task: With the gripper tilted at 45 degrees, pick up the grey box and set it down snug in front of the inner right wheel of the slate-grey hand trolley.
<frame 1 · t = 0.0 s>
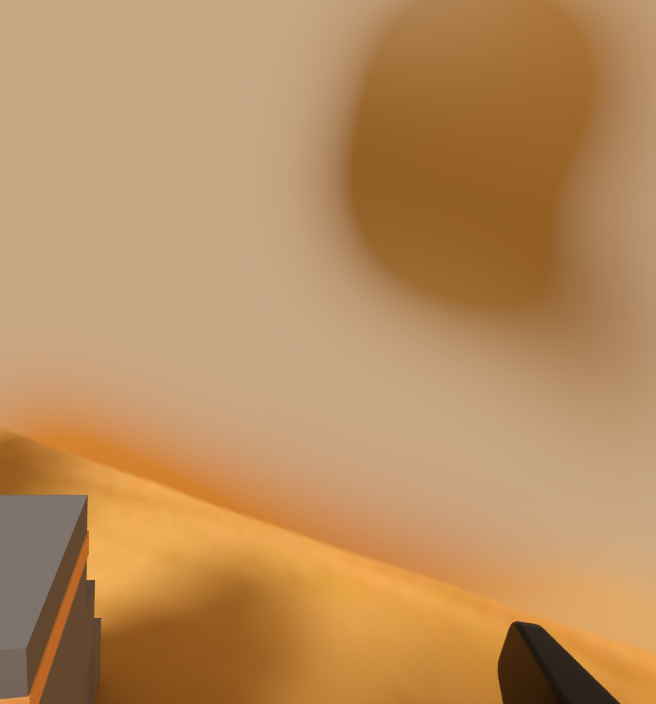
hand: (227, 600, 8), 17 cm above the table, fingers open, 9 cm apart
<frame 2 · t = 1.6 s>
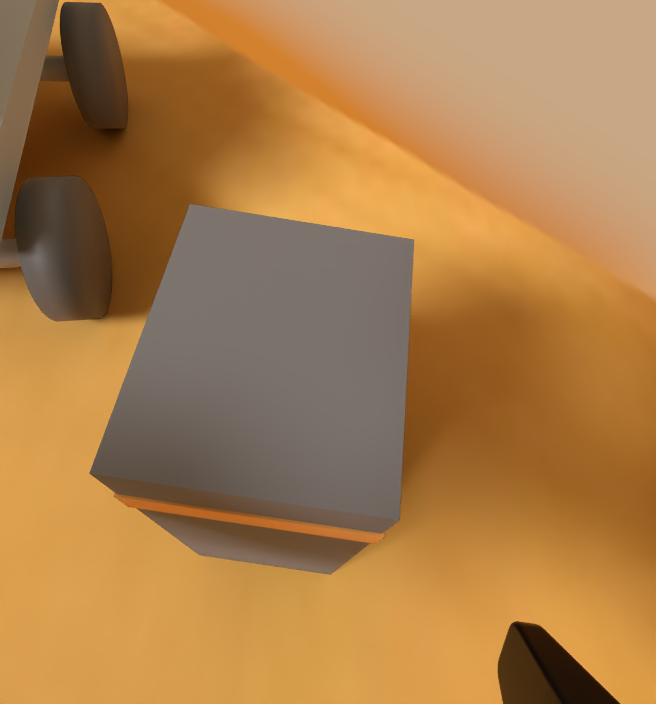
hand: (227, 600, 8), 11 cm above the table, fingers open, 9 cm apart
grey box: (278, 485, 20), on the table
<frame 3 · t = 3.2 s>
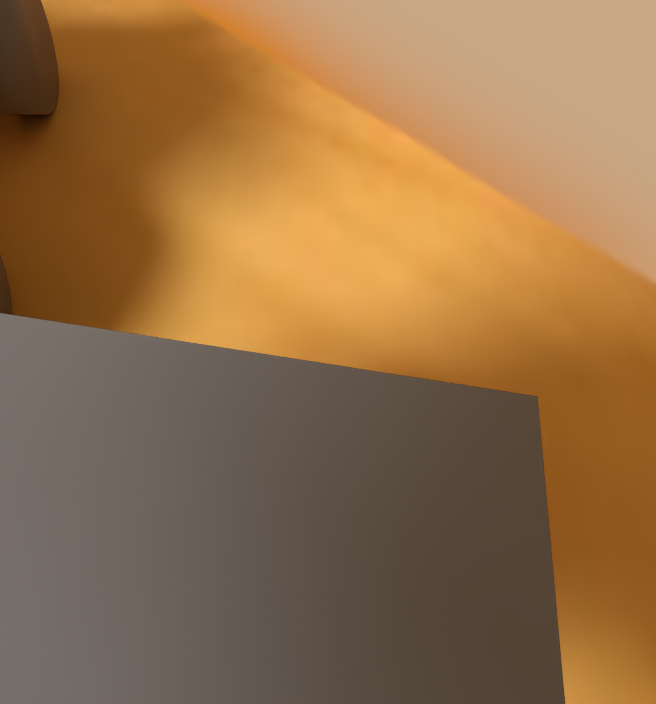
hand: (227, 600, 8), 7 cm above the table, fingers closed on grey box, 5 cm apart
grey box: (239, 663, 13), on the table, touching gripper
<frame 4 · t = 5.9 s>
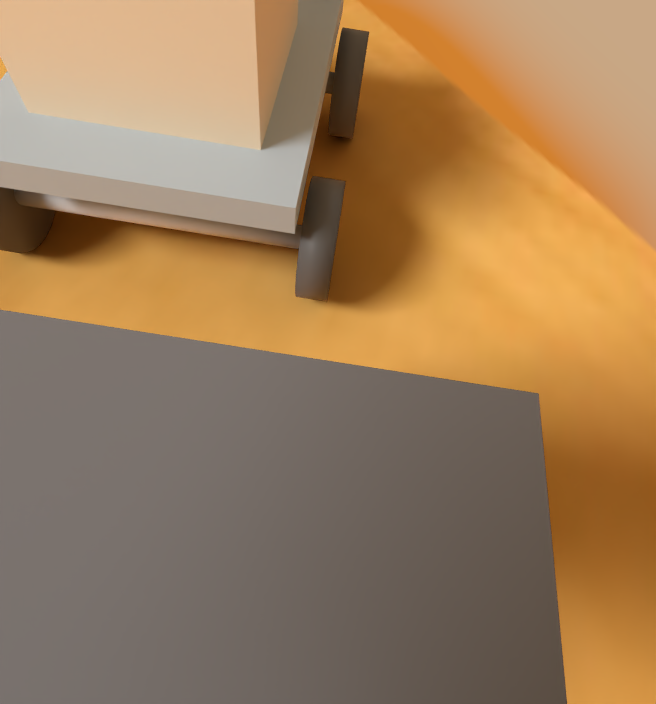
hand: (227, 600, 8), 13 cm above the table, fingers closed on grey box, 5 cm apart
grey box: (239, 662, 13), point 7 cm above the table, touching gripper
trolley: (204, 173, 30), on the table
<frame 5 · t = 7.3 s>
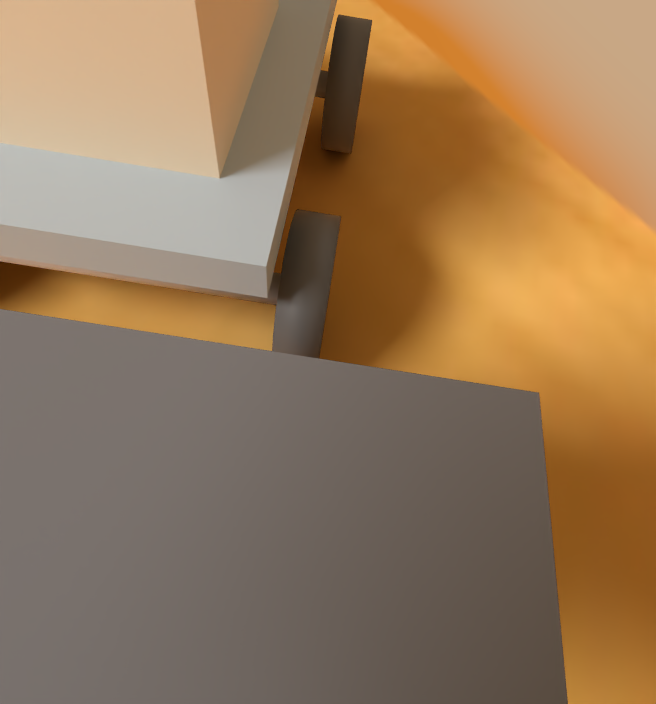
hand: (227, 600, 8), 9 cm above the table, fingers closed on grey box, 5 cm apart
grey box: (239, 662, 13), point 3 cm above the table, touching gripper
trolley: (165, 198, 24), on the table
when the fingers open (7 cm above the table, at t = 8.5 s): grey box stays where it is, on the table.
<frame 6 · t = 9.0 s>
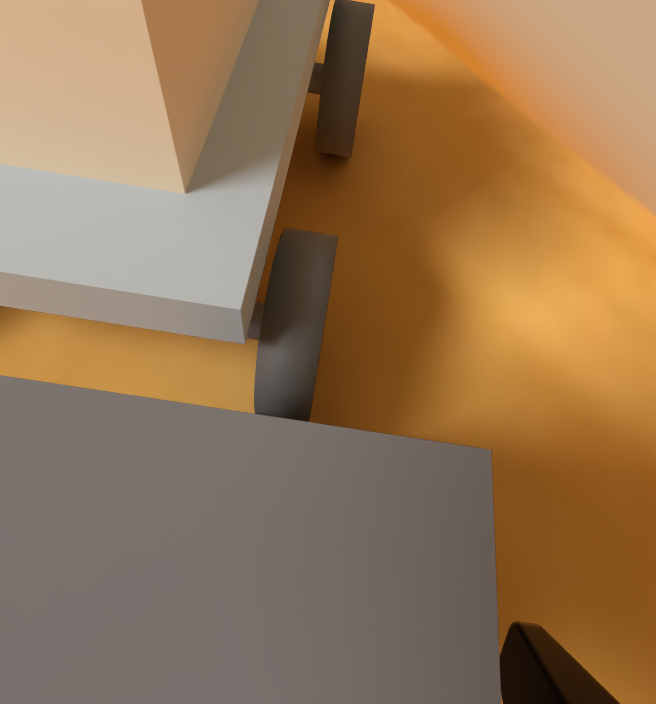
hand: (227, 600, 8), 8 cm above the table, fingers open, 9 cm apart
grey box: (242, 664, 13), on the table
trolley: (138, 208, 21), on the table
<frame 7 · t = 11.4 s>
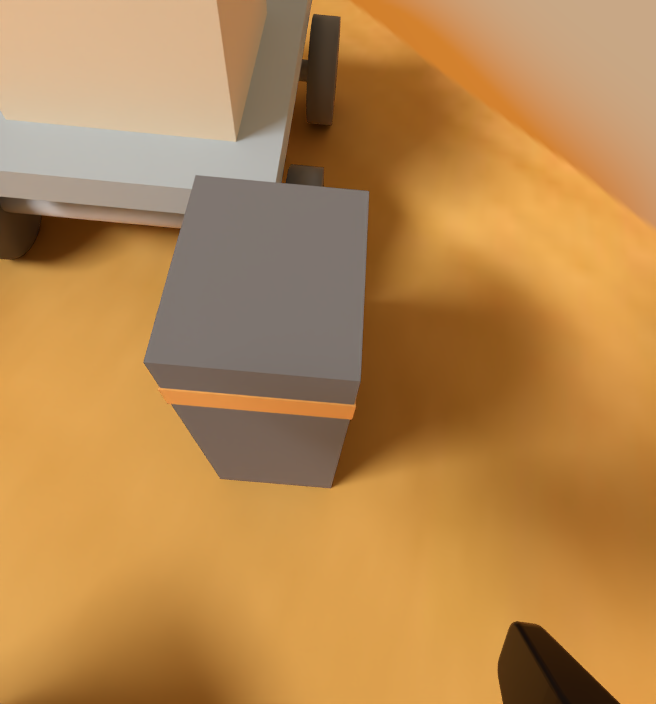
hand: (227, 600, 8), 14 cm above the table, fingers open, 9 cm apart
grey box: (283, 420, 23), on the table
trolley: (186, 169, 30), on the table
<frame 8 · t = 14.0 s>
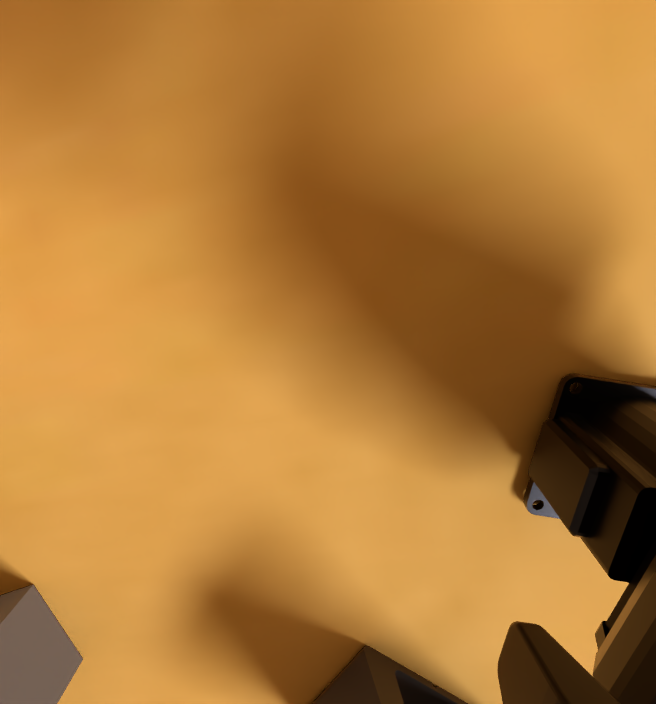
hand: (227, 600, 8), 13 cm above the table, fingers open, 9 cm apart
grey box: (8, 638, 25), on the table
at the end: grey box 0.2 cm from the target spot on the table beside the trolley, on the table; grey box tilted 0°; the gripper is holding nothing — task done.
